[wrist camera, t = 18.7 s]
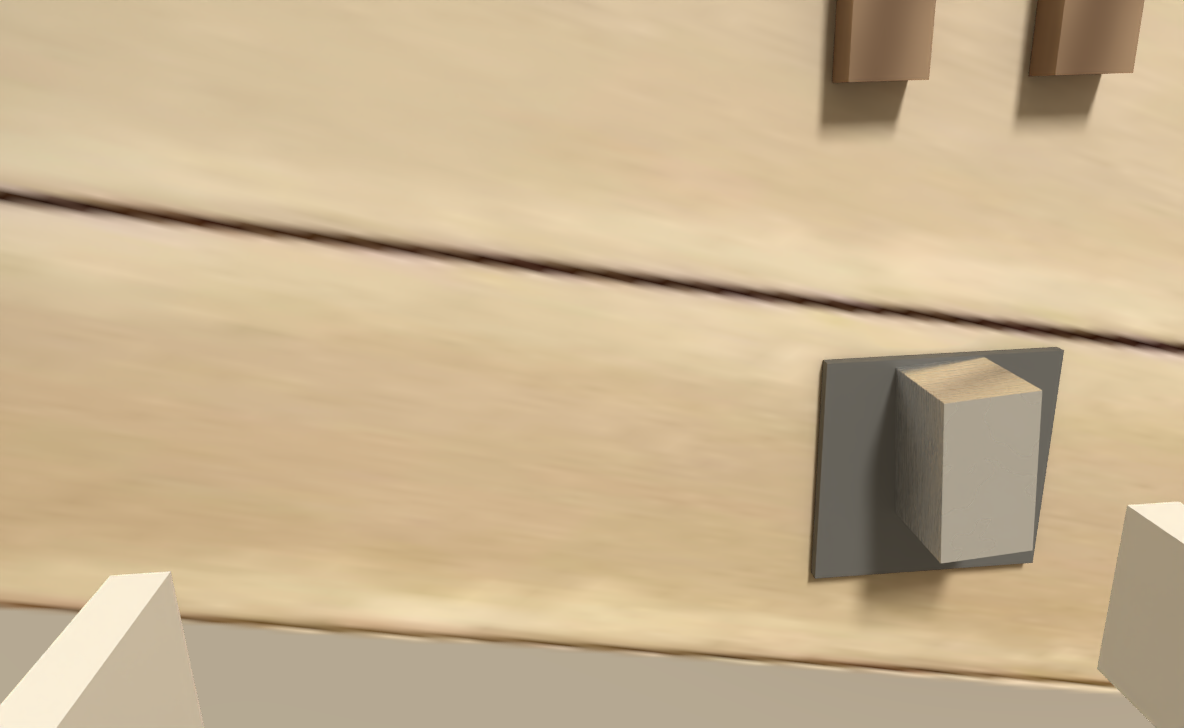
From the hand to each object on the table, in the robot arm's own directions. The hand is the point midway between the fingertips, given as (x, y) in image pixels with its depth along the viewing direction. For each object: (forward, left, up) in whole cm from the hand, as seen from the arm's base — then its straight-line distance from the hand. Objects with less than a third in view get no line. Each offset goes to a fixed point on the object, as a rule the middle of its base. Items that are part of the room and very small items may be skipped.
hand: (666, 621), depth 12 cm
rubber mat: (+19, -12, -29) cm, 36 cm away
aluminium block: (+18, -10, -28) cm, 35 cm away
